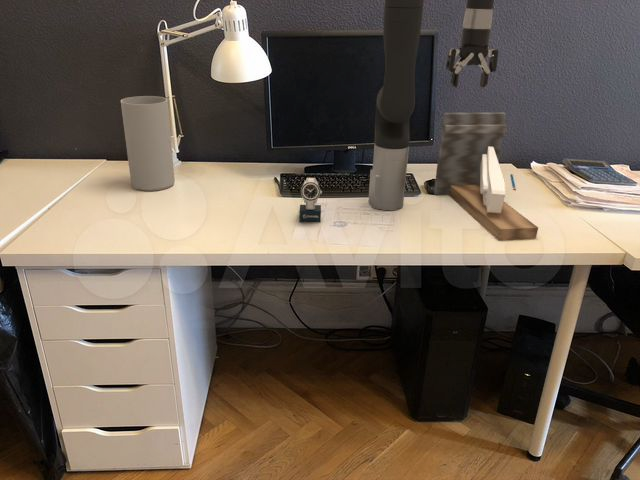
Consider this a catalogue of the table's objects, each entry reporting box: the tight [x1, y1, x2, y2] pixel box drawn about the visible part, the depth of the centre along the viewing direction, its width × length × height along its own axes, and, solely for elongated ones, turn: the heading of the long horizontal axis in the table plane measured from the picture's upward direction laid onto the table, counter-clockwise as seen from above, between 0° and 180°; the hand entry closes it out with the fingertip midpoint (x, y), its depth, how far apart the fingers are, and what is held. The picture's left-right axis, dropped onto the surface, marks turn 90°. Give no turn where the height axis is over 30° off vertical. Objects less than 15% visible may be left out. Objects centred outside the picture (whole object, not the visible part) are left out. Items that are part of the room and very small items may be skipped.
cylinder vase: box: [120, 95, 176, 192], centre depth 156 cm, size 12×12×25 cm
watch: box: [298, 177, 323, 223], centre depth 138 cm, size 6×8×11 cm
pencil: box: [510, 173, 517, 191], centre depth 173 cm, size 1×17×1 cm, turn 165°
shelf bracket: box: [480, 146, 506, 213], centre depth 147 cm, size 6×25×13 cm, turn 170°
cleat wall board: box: [433, 111, 539, 241], centre depth 142 cm, size 18×34×24 cm, turn 10°
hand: (468, 86), depth 155 cm, fingers open, 8 cm apart
